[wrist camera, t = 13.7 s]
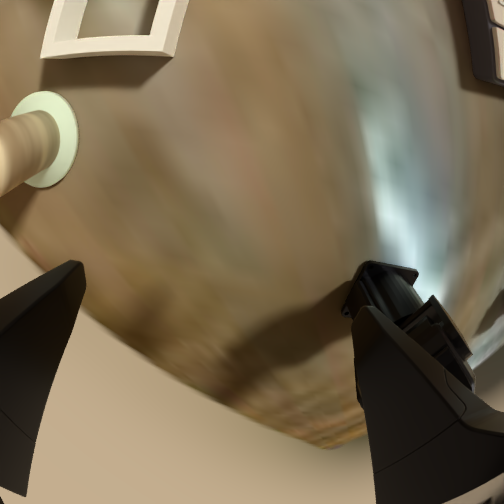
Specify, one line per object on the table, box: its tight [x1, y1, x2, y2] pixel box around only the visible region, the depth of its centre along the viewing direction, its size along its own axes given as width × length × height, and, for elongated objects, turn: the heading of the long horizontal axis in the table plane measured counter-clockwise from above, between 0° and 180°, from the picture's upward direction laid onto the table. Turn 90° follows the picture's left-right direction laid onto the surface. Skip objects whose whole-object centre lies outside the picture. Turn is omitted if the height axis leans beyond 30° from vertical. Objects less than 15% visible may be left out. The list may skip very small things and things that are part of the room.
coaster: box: [11, 91, 79, 188], centre depth 16 cm, size 8×8×1 cm
